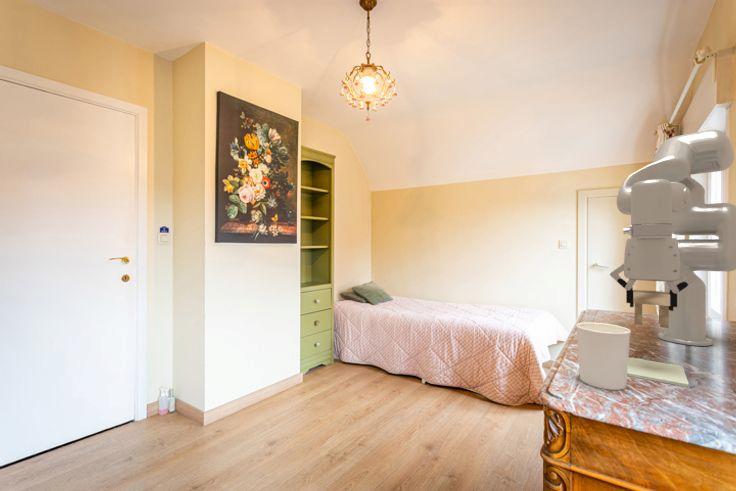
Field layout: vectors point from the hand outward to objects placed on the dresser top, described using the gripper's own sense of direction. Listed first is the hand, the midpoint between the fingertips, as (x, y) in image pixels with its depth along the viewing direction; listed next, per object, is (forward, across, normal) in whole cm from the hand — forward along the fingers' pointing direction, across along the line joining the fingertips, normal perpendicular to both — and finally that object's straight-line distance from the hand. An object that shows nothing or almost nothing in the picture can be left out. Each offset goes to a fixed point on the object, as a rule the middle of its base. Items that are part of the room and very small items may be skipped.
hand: (650, 307), depth 81 cm
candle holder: (+15, -8, -15) cm, 23 cm away
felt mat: (+15, 0, 0) cm, 15 cm away
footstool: (+4, 0, 0) cm, 4 cm away
